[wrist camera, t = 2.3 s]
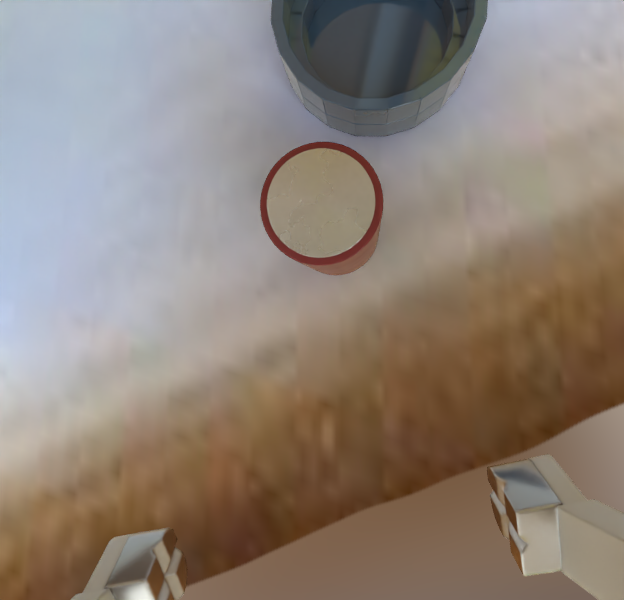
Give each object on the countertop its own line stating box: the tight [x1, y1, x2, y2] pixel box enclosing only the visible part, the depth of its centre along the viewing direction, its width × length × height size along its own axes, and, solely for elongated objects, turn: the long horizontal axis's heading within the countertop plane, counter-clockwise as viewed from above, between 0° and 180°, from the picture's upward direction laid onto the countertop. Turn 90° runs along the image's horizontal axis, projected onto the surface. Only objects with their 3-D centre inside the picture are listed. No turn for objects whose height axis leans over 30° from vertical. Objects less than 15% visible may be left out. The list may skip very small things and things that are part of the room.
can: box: [260, 142, 383, 275], centre depth 29 cm, size 6×6×12 cm
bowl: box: [271, 0, 488, 136], centre depth 32 cm, size 14×14×6 cm
